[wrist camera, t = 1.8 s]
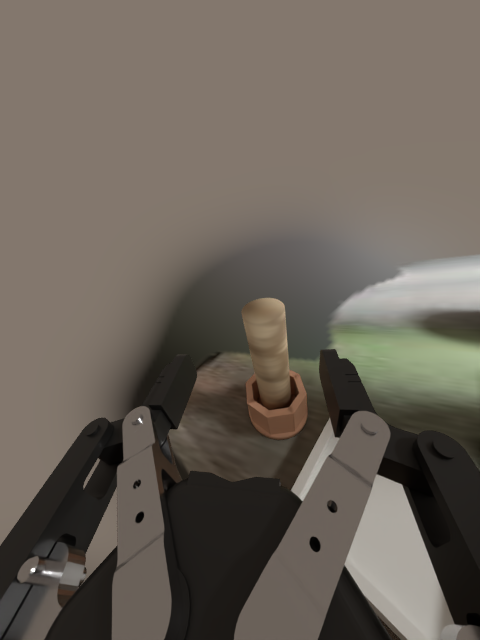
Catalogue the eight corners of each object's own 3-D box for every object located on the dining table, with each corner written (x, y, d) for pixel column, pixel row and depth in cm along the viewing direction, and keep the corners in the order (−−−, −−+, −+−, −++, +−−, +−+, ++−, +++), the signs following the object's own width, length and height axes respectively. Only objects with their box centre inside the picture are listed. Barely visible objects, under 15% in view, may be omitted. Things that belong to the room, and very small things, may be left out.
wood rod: (273, 388, 37) (258, 295, 26) (297, 403, 34) (293, 303, 23) (256, 409, 34) (232, 314, 23) (281, 426, 31) (267, 326, 20)
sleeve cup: (270, 377, 41) (267, 356, 37) (318, 403, 34) (319, 381, 31) (237, 415, 35) (230, 395, 32) (287, 454, 29) (284, 434, 26)
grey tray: (336, 413, 32) (337, 402, 31) (483, 494, 22) (497, 484, 21) (282, 516, 24) (280, 509, 22) (482, 725, 14) (507, 741, 12)
